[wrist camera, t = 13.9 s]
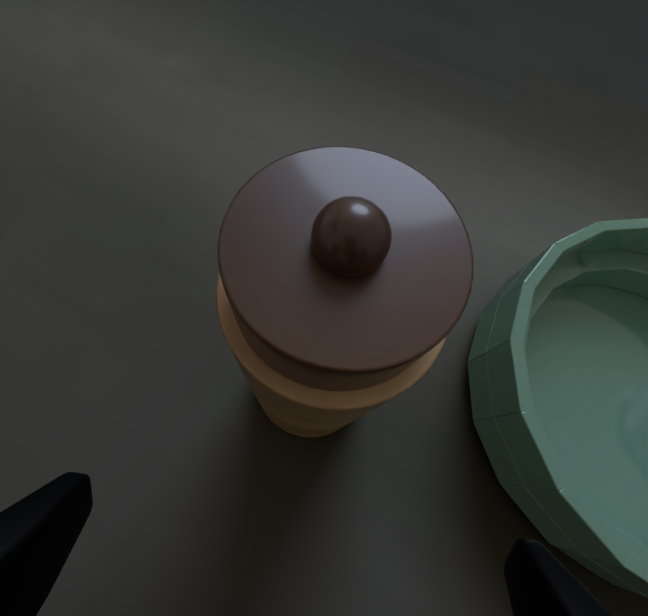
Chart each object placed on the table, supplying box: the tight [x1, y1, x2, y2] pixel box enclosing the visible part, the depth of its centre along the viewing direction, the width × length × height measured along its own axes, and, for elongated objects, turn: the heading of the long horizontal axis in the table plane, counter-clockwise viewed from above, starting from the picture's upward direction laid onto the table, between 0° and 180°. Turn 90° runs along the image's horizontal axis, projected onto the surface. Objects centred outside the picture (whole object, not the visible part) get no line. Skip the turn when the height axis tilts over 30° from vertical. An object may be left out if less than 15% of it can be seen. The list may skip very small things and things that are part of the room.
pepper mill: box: [216, 147, 473, 438], centre depth 11 cm, size 5×5×12 cm
